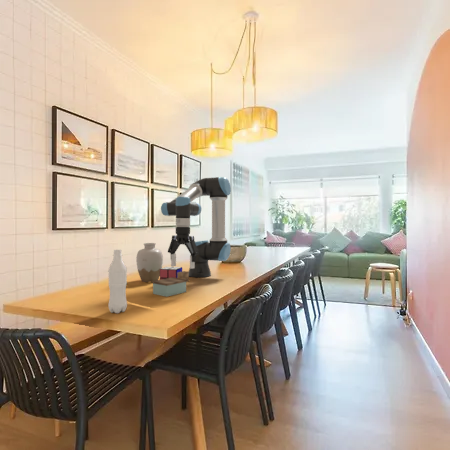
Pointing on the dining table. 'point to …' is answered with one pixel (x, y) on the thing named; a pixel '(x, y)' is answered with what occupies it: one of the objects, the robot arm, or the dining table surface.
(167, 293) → the parts tub
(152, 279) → the vase
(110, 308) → the water bottle
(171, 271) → the puzzle cube
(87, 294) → the dining table surface
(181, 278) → the tan tabbed block
